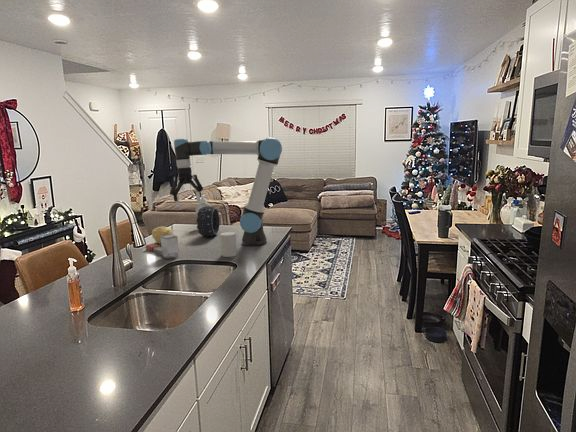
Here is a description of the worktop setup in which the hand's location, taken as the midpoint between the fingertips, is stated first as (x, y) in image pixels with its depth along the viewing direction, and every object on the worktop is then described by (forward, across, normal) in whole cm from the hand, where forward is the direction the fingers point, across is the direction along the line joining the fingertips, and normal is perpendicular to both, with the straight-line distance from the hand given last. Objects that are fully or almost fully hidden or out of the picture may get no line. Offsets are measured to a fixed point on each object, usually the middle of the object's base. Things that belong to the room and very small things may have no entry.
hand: (188, 204), depth 218 cm
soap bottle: (+27, -41, -47) cm, 68 cm away
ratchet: (+27, +14, -11) cm, 32 cm away
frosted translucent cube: (+24, +15, 0) cm, 28 cm away
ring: (+28, -27, -24) cm, 45 cm away
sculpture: (+27, +1, -34) cm, 43 cm away
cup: (+28, -8, +22) cm, 37 cm away
